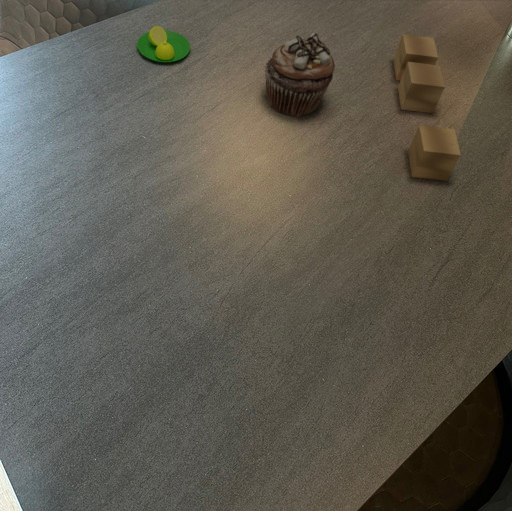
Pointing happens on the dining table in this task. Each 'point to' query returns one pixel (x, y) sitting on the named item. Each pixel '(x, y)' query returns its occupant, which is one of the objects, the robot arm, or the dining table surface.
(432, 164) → the maple block
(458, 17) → the dining table surface
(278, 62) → the cupcake
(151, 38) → the lemon
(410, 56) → the maple block
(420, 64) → the maple block
